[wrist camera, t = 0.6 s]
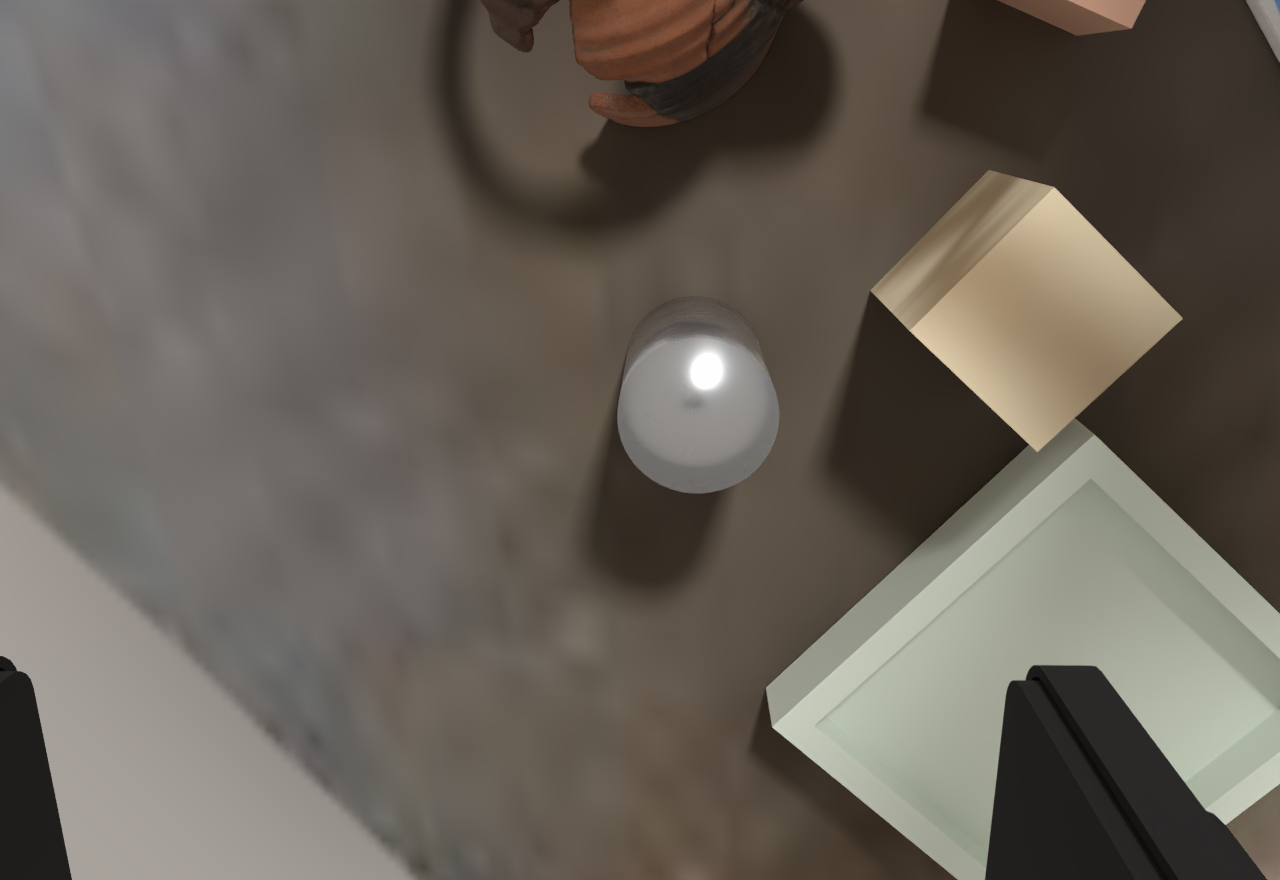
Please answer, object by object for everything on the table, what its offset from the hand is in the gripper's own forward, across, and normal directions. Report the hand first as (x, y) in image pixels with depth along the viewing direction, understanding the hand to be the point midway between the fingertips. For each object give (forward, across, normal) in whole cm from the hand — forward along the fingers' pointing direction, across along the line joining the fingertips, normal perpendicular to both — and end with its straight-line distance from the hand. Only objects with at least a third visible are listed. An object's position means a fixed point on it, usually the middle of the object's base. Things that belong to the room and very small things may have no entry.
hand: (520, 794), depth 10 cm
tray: (+25, -15, +13) cm, 32 cm away
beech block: (+25, -11, -1) cm, 28 cm away
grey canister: (+25, -2, +2) cm, 26 cm away
